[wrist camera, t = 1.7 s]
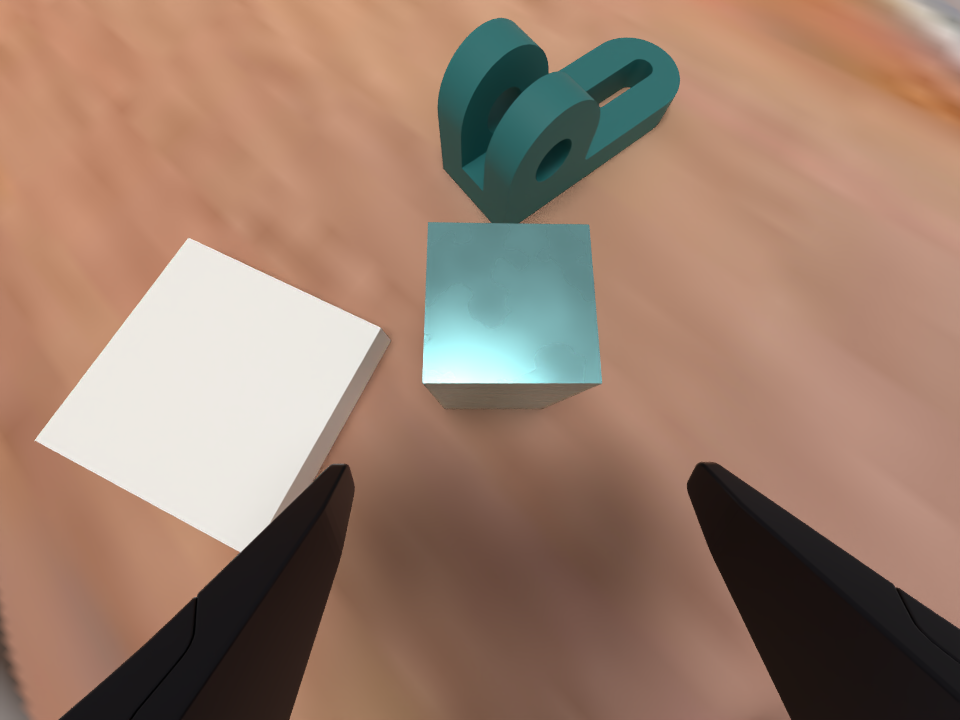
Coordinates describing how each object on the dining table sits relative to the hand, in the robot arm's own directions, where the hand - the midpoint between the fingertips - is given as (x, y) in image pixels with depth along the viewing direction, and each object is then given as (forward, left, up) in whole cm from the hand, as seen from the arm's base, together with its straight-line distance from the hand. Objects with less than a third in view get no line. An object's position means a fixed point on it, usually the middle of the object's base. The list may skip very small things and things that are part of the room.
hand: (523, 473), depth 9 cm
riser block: (-3, +15, -12) cm, 20 cm away
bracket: (+23, +4, -12) cm, 27 cm away
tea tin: (+5, +2, -12) cm, 13 cm away
